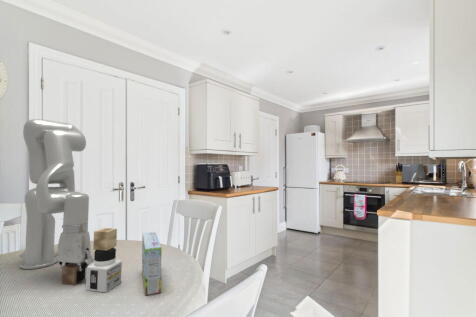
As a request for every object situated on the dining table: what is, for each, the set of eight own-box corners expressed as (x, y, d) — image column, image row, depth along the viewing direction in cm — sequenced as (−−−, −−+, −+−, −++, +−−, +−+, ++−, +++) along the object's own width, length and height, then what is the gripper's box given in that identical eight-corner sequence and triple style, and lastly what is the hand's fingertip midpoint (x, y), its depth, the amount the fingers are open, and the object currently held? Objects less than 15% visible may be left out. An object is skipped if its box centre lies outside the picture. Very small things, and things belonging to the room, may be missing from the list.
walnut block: (61, 283, 88) (62, 266, 88) (73, 277, 93) (74, 261, 93) (74, 285, 87) (74, 267, 87) (85, 279, 92) (85, 262, 92)
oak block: (93, 249, 85) (93, 231, 85) (103, 245, 90) (104, 228, 90) (106, 250, 84) (107, 232, 84) (116, 246, 89) (116, 228, 89)
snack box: (140, 271, 99) (141, 232, 100) (155, 269, 102) (156, 231, 102) (143, 296, 80) (145, 248, 81) (162, 293, 82) (163, 246, 83)
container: (106, 293, 82) (107, 252, 82) (85, 290, 83) (86, 250, 84) (121, 282, 89) (122, 245, 90) (102, 280, 91) (103, 243, 92)
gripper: (45, 229, 88) (43, 282, 88) (88, 232, 85) (86, 287, 85) (64, 224, 96) (62, 273, 95) (104, 227, 93) (102, 278, 92)
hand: (73, 279), depth 90 cm, fingers closed on walnut block, 5 cm apart
